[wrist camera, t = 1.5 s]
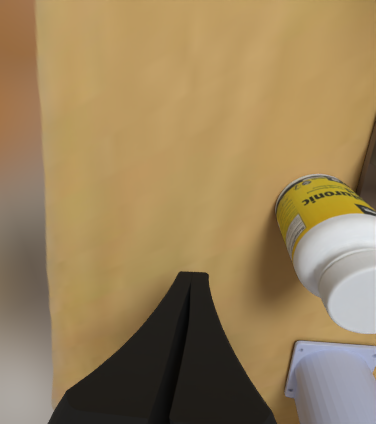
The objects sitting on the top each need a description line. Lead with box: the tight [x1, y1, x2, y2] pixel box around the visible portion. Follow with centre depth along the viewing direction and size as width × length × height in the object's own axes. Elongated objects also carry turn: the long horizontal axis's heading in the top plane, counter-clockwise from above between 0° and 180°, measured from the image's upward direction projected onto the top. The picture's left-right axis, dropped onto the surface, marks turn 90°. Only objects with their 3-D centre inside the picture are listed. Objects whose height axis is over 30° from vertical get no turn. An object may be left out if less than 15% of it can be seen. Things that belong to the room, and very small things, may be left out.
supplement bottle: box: [275, 174, 376, 334], centre depth 16 cm, size 5×5×10 cm
